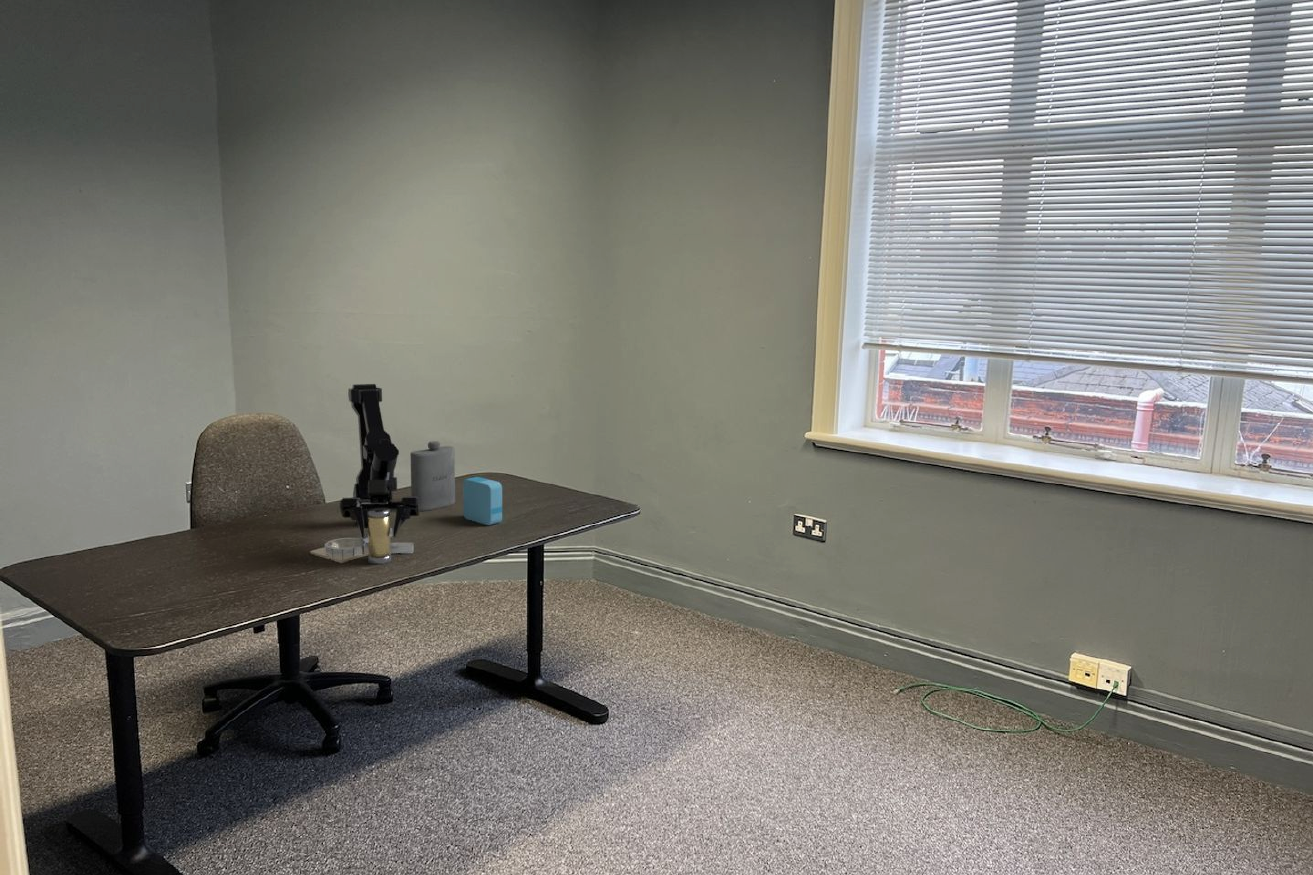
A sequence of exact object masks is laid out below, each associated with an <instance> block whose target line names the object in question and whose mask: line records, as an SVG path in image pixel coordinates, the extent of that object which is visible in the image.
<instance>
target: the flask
mask: <svg viewBox="0 0 1313 875" xmlns="http://www.w3.org/2000/svg"><path fill="white" fill-rule="evenodd" d="M427 447H428V449H421V450H413V451H412V452H410V491H411V492H410V494H411V496H416V497H417V498H418V499H419V512H426V511H427V512H429V511H433V509H434V510H437V509H438V508H439V509H443V508H446V507H450V506H453V505H454V504H455V503H456V476H455V475H456V471H455V470H456V469H455V466H456V465H455V464H456V462H455V447H453V446H448V445H446V446H445V445H444V446H441V443H440V442H439V441H436V440H434V441H433V440H432V441H429V442H428V443H427ZM442 507H443V508H442ZM428 510H429V511H428Z"/></svg>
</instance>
